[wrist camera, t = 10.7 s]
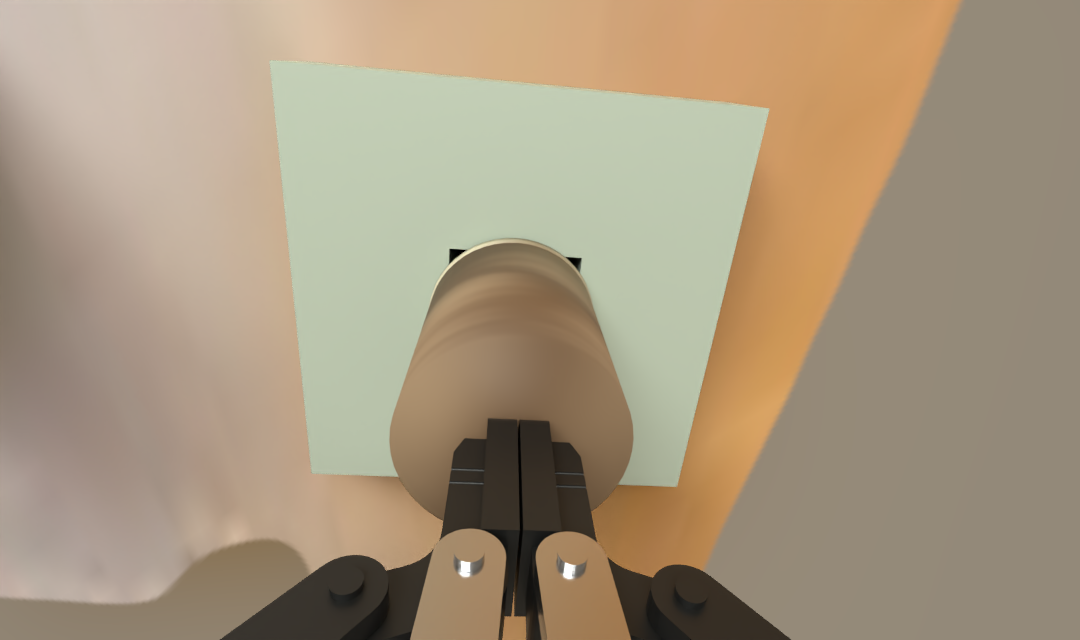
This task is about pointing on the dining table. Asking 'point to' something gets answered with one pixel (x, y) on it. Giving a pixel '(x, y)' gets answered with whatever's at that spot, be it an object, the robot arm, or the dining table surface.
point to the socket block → (502, 232)
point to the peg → (509, 369)
